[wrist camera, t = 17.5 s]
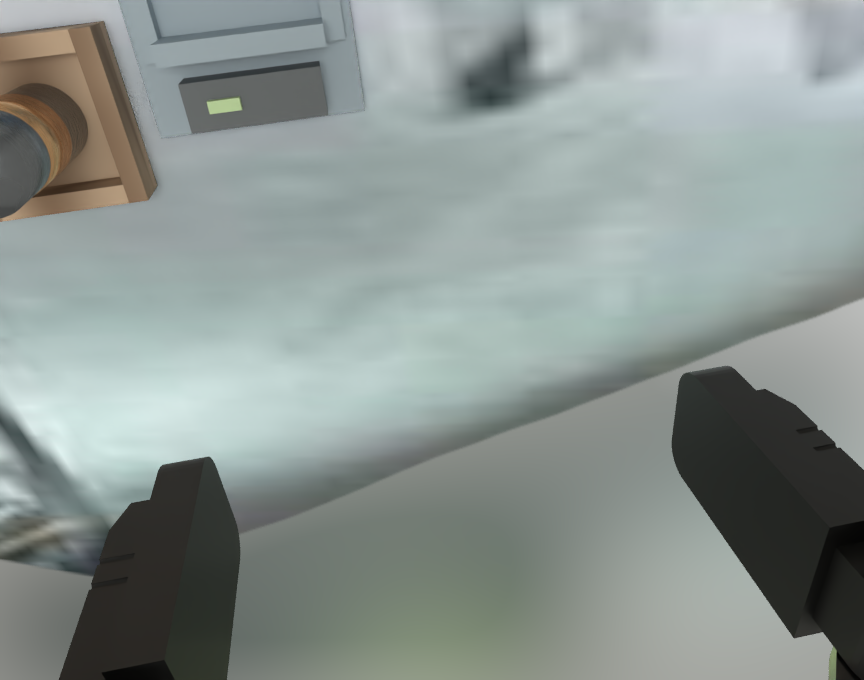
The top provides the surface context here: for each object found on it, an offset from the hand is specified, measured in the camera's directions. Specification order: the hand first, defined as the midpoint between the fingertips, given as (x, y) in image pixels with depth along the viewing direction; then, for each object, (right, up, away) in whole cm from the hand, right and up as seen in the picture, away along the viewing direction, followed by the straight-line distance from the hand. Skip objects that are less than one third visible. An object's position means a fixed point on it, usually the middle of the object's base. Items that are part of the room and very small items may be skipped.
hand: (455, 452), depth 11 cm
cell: (-20, +13, +23) cm, 33 cm away
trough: (-21, +14, +24) cm, 34 cm away
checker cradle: (-10, +19, +22) cm, 31 cm away
